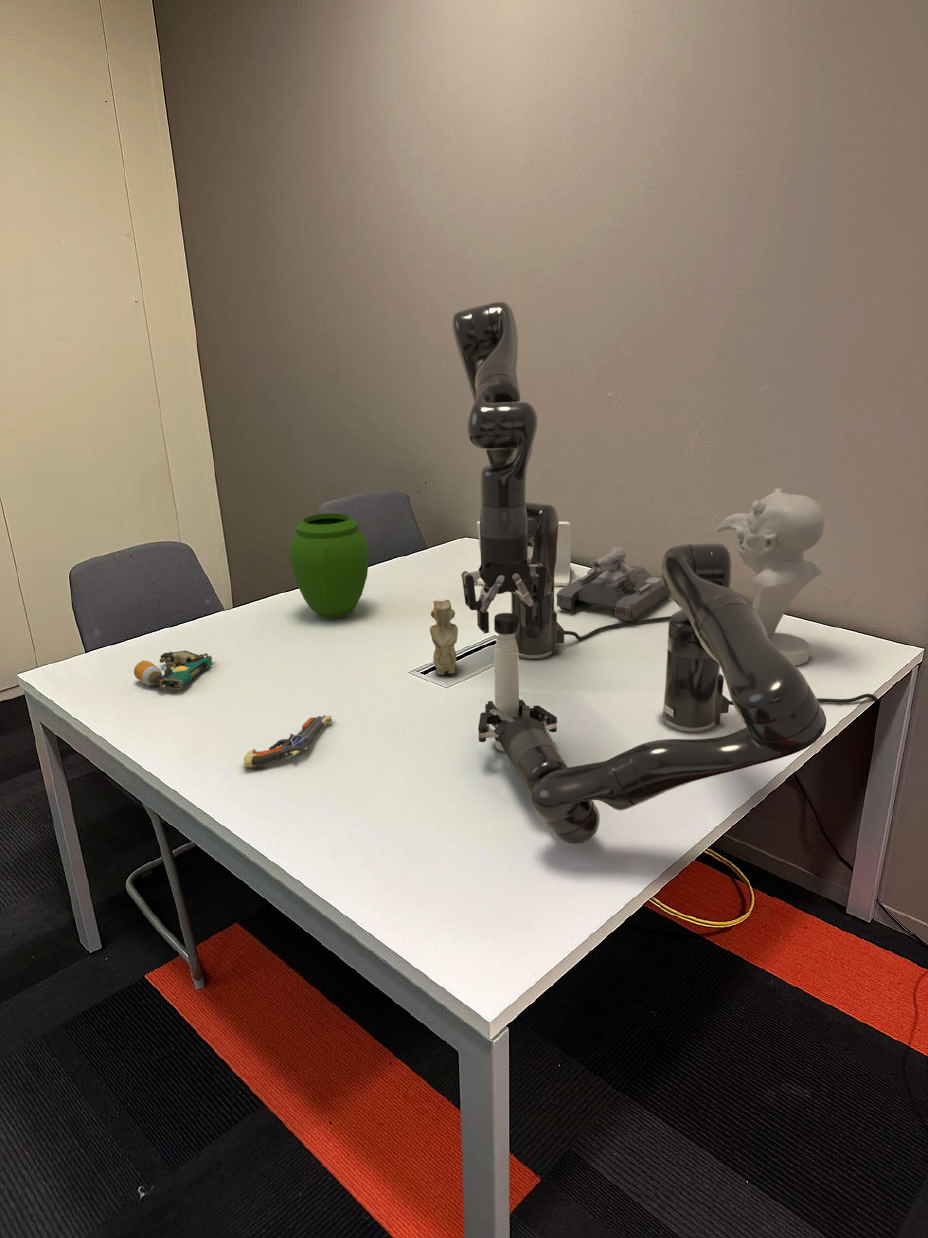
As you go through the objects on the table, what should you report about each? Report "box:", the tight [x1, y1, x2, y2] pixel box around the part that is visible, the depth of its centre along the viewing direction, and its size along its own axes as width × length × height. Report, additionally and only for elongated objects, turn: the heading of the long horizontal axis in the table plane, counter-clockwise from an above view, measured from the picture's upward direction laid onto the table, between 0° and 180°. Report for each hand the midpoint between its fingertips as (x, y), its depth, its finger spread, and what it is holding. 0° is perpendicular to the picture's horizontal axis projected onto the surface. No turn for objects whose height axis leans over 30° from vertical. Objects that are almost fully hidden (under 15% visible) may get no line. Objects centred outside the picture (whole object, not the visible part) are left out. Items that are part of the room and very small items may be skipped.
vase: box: [288, 512, 370, 620], centre depth 209 cm, size 20×20×24 cm
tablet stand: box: [476, 520, 572, 587], centre depth 236 cm, size 18×25×17 cm
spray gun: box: [133, 650, 213, 690], centre depth 180 cm, size 4×17×15 cm
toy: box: [556, 546, 671, 623], centre depth 212 cm, size 25×20×15 cm
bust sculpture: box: [715, 487, 826, 667], centre depth 180 cm, size 16×24×35 cm
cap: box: [493, 612, 518, 635], centre depth 141 cm, size 4×4×2 cm
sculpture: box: [429, 599, 459, 675], centre depth 177 cm, size 6×7×15 cm
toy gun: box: [243, 714, 333, 769], centre depth 151 cm, size 3×19×10 cm
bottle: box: [493, 633, 520, 752], centre depth 145 cm, size 4×4×24 cm
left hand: (505, 628), depth 141 cm, fingers open, 6 cm apart
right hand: (503, 704), depth 149 cm, fingers closed on bottle, 4 cm apart
